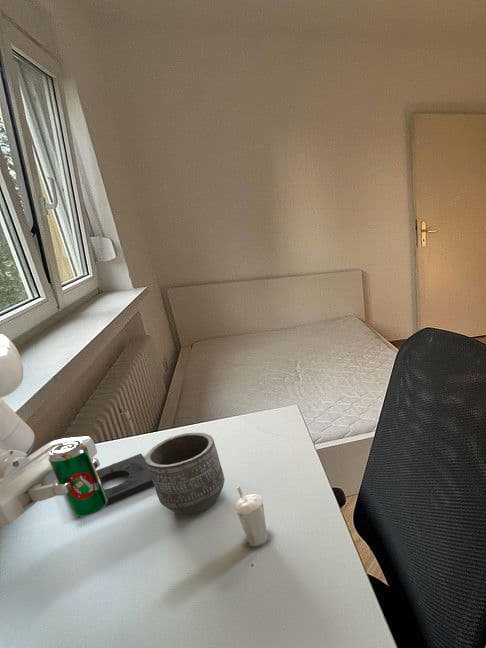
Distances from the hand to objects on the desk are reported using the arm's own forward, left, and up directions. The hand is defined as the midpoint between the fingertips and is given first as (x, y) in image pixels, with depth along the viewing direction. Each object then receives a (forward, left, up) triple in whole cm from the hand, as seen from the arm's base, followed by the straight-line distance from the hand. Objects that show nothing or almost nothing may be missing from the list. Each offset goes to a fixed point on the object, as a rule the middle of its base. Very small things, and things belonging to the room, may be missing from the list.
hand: (82, 475), depth 72 cm
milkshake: (+19, -16, -16) cm, 30 cm away
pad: (+4, +23, -16) cm, 29 cm away
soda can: (-1, +1, -7) cm, 7 cm away
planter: (+15, +3, -16) cm, 23 cm away
